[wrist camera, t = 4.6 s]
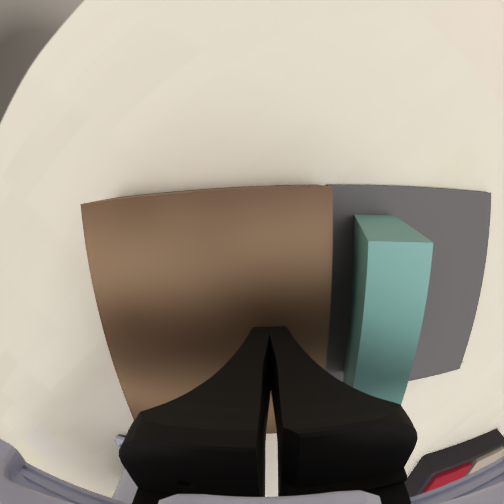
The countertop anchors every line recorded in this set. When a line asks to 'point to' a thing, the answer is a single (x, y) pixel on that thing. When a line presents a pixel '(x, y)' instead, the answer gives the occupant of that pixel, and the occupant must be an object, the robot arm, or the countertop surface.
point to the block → (386, 305)
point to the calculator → (454, 462)
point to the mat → (441, 275)
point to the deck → (207, 280)
